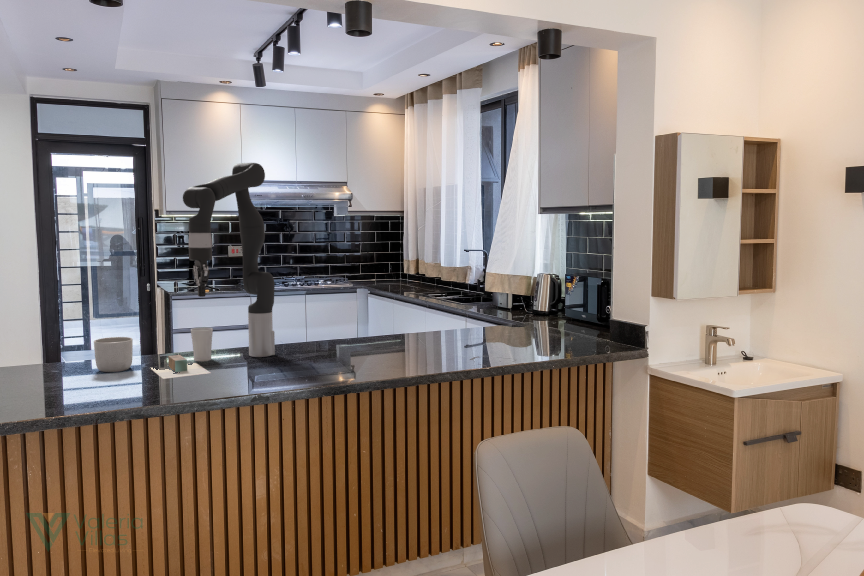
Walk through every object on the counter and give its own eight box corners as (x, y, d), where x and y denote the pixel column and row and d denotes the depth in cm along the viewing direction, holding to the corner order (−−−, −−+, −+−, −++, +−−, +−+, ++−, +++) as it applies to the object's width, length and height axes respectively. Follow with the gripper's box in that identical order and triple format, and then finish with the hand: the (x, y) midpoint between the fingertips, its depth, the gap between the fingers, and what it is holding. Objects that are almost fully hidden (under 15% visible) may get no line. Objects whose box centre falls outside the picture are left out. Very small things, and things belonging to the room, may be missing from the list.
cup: (206, 362, 250) (205, 331, 249) (187, 361, 252) (186, 330, 250) (217, 358, 258) (216, 327, 257) (198, 357, 259) (197, 327, 258)
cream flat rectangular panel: (195, 363, 248) (195, 362, 248) (211, 373, 232) (211, 373, 232) (149, 368, 239) (149, 367, 239) (162, 379, 223) (162, 378, 223)
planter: (114, 375, 228) (113, 343, 227) (86, 372, 233) (85, 341, 232) (141, 368, 240) (140, 338, 239) (114, 365, 244) (113, 335, 243)
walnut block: (187, 370, 235) (180, 365, 243) (187, 359, 235) (179, 354, 243) (175, 372, 233) (168, 366, 241) (175, 360, 232) (168, 356, 241)
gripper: (217, 246, 225) (218, 297, 226) (205, 245, 236) (207, 294, 237) (194, 247, 221) (195, 299, 222) (184, 245, 231) (185, 295, 233)
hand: (201, 296), depth 230 cm, fingers closed
